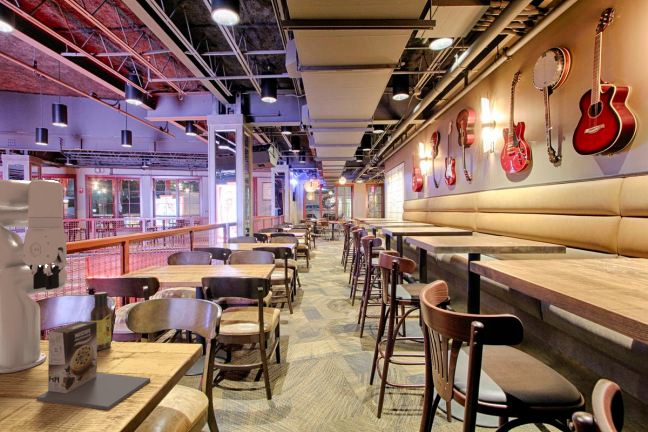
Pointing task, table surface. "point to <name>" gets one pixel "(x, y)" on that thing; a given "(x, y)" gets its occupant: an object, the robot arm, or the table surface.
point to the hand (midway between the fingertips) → (46, 287)
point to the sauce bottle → (102, 320)
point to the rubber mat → (98, 391)
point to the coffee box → (72, 356)
